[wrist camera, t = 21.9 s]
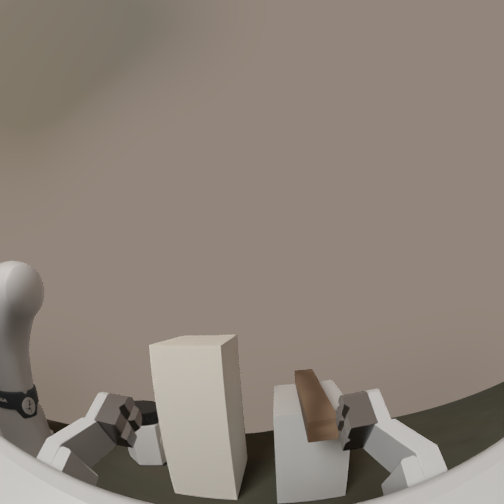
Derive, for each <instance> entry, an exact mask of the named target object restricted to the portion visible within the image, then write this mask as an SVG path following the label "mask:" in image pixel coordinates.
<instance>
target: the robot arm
mask: <svg viewBox="0 0 504 504" xmlns="http://www.w3.org/2000/svg"><path fill="white" fill-rule="evenodd" d="M43 298H44V286H43V282H42V279H41V277H40V275H39V273H38V272H37V270H36V269H35V268H33V267H32V266H31V265H29V264H26V263H23V262H19V261H8V262H3V263H0V504H153V503H148V502H144V501H140V500H137V499H133V498H129V497H126V496H123V495H119V494H116V493H113V492H110V491H107V490H104V489H102V488H99V487H96V486H95V485H96V483H97V480H98V475H97V474H96V473H95V472H94V471H93V470H91V469H90V468H91V467H92V466H94V465H95V464H96V463H97V462H98V461H99V460H101V459H102V458H103V457H104V456H105V455H106V454H107V453H109V452H110V451H111V450H112V449H113V448H114V447H115V446H116V445H120V446H125V447H130V448H133V447H134V444H135V441H136V438H137V435H136V431H137V430H139V429H140V427H141V424H142V415H141V412H140V410H139V409H138V408H137V407H136V406H134V404H135V401H134V400H133V398H132V397H126V396H121V395H116V394H111V393H106V392H100V393H98V395H97V396H96V398H95V400H94V402H93V403H92V405H91V407H90V409H89V411H88V413H87V415H86V416H85V418H84V417H82V418H80V419H78V420H77V421H75V422H73V423H72V424H70V425H68V426H67V427H65V428H63V429H62V430H60V431H58V432H57V433H55V434H54V432H53V431H52V430H50V428H49V426H48V423H47V420H46V417H45V415H44V411H43V409H42V406H41V405H40V404H39V403H38V401H39V400H38V396H37V395H38V394H37V391H36V387H35V385H34V384H33V380H32V373H31V366H30V358H29V341H30V333H31V328H32V323H33V319H34V317H35V315H36V314H37V312H38V311H39V309H40V308H41V306H42V303H43ZM338 402H339V406H338V407H337V409H336V424H337V429H338V430H339V431H341V435H340V443H341V447H342V451H347V450H352V449H358V448H363V447H364V448H363V449H365V450H366V451H367V452H368V453H369V454H370V455H371V456H372V457H373V458H374V459H376V460H377V461H378V462H379V463H380V464H381V465H382V466H383V467H384V468H386V469H387V470H388V471H389V472H390V473H391V474H390V475H389V476H388V478H387V479H386V480H385V481H384V482H383V484H382V485H381V486H382V490H383V494H384V496H381V497H378V498H374V499H371V500H367V501H363V502H359V503H355V504H504V438H502V439H501V440H499V441H498V442H496V443H495V444H493V445H492V446H490V447H489V448H487V449H486V450H484V451H482V452H481V453H479V454H477V455H476V456H474V457H472V458H471V459H469V460H467V461H465V462H463V463H462V464H460V465H458V466H456V467H454V468H452V469H450V470H447V467H446V465H445V462H444V460H443V458H442V455H441V453H440V451H439V448H438V446H437V445H436V444H434V443H433V442H431V441H429V440H428V439H426V438H425V437H423V436H421V435H420V434H418V433H417V432H415V431H413V430H412V429H410V428H409V427H407V426H405V425H404V424H402V423H401V422H399V421H398V420H396V419H391V417H390V414H389V412H388V409H387V407H386V404H385V402H384V400H383V397H382V395H381V393H380V390H379V389H373V390H368V391H361V392H356V393H351V394H346V395H340V397H339V400H338Z"/></svg>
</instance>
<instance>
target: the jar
mask: <svg viewBox="0 0 504 504" xmlns="http://www.w3.org/2000/svg"><path fill="white" fill-rule="evenodd" d="M134 406H136V407H137V408H138V409H139V410H140V412H141V415H142V424H141V427H140V429H139V430H137V431H136V435H137V438H136V441H135V444H134V447H133V448H130V447H128V450H129V454H130V456H131V457H132V458H133V459H134V460H135V461H136V462H137V463H138V464H139V465H163V464H164V463H165V462H166V461H167V460H166V456H165V451H164V446H163V441H162V436H161V431H160V426H159V420H158V414H157V408H156V402H153V401H135V404H134Z"/></svg>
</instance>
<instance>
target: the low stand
mask: <svg viewBox="0 0 504 504" xmlns="http://www.w3.org/2000/svg"><path fill="white" fill-rule="evenodd" d="M319 383H320V384H321V386H322V388H323V390H324V392H325V393H326V395H327V397H328V399H329V401H330V403H331V404H332V406H333V408H334V410H335V412H336V409H337V407H338V406H339V402H338V400H339V397H340V395H343V394H342V393H341V392H340V390H339V389H338V387H337V386H336V385H335V384H334V382H333V381H332V380H327V381H319ZM273 425H274V444H275V463H276V483H277V503H293V502H304V501H313V500H321V499H328V498H334V497H340V496H345V494H346V486H347V477H348V467H349V455H350V450H347V451H342V447H341V443H340V435H341V431H339V432H338V439H332V440H325V441H318V442H310V443H308V440H307V435H306V431H305V426H304V421H303V417H302V412H301V408H300V403H299V398H298V394H297V389H296V385H295V384H289V385H276V386H275V389H274V407H273Z"/></svg>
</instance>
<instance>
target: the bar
mask: <svg viewBox="0 0 504 504" xmlns="http://www.w3.org/2000/svg"><path fill="white" fill-rule="evenodd" d="M295 385H296V389H297V394H298V398H299V403H300V408H301V412H302V417H303V421H304V426H305V431H306V435H307V440H308V443H310V442H318V441H325V440H332V439H338V432H339V430H338V429H337V424H336V412H335V410H334V408H333V406H332V404H331V403H330V401H329V399H328V397H327V395H326V393H325V392H324V390H323V388H322V386H321V384H320V383H319V381H318V379H317V377H316V376H315V374H314V372H313V370H312V369H308V370H298V371H295Z"/></svg>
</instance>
